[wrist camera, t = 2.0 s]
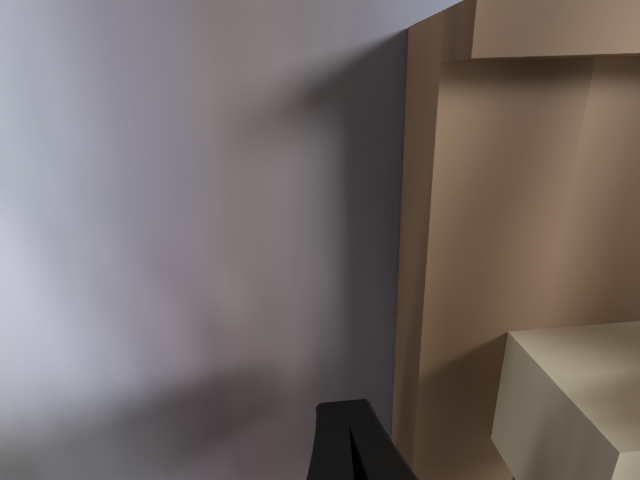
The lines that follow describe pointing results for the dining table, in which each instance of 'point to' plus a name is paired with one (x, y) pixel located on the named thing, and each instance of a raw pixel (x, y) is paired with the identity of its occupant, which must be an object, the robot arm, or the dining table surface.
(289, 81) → the dining table surface
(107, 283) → the dining table surface
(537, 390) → the birch block
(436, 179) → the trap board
